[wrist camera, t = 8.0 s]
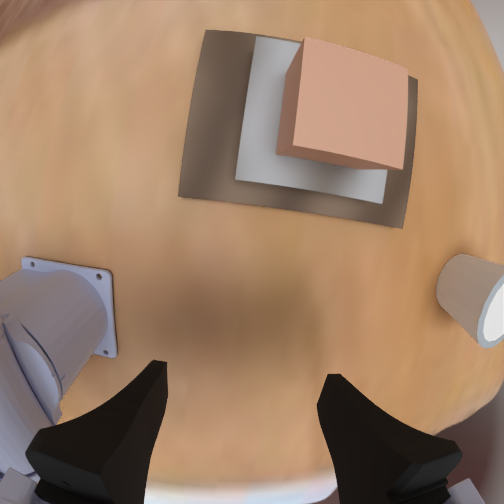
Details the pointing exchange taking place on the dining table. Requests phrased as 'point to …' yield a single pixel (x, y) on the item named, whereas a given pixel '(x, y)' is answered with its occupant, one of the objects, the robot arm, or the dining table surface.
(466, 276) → the grey cup
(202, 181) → the walnut base
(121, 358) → the dining table surface
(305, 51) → the terracotta block
